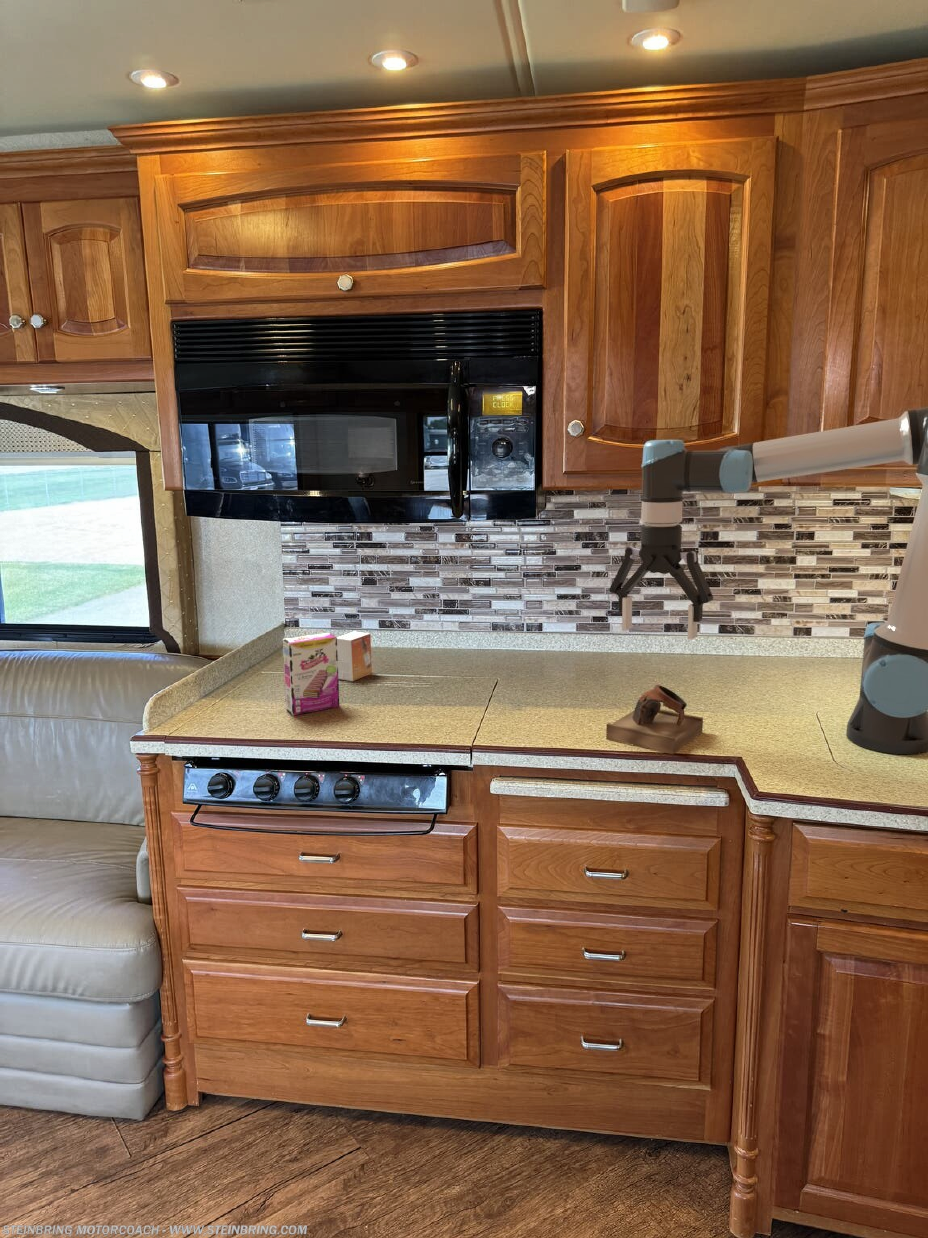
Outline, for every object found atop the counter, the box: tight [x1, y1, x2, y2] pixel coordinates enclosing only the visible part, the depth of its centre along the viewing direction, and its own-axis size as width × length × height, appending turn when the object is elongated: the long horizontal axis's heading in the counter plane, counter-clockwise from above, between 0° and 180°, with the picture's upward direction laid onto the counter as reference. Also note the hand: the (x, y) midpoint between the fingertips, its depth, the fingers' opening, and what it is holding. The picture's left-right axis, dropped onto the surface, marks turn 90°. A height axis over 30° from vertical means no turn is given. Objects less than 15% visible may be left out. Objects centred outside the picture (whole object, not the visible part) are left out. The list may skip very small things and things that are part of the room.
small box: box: [336, 630, 373, 682], centre depth 216 cm, size 8×6×10 cm
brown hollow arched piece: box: [632, 684, 688, 726], centre depth 172 cm, size 12×10×8 cm
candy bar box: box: [281, 632, 340, 716], centre depth 192 cm, size 11×5×16 cm, turn 121°
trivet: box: [605, 708, 704, 755], centre depth 173 cm, size 14×14×3 cm
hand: (658, 633), depth 169 cm, fingers open, 13 cm apart
